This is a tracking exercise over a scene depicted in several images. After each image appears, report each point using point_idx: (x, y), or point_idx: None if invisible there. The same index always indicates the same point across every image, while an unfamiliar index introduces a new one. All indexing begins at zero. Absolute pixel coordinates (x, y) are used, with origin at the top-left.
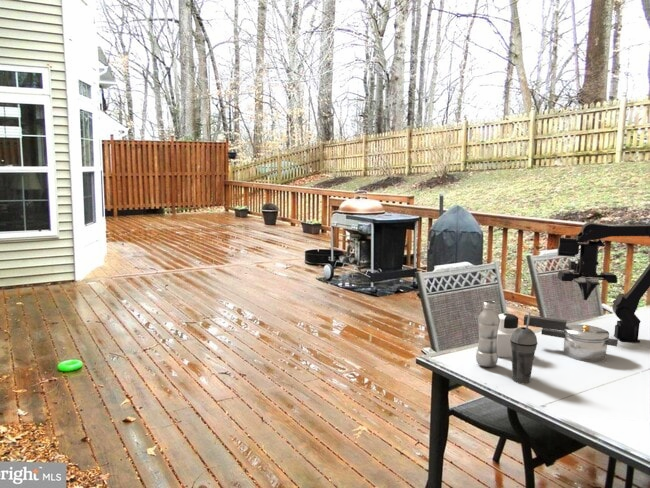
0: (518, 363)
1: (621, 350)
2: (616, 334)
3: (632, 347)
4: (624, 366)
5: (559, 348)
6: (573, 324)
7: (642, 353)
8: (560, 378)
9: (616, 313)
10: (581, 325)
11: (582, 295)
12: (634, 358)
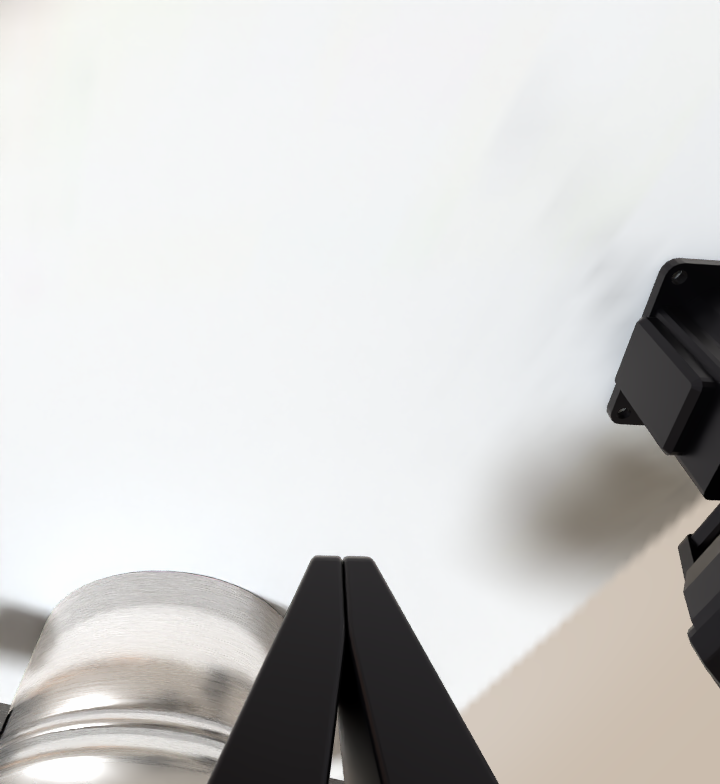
0: None
1: (469, 570)
2: (630, 381)
3: (597, 515)
4: (337, 735)
5: (25, 581)
6: (48, 769)
7: (576, 598)
8: None
9: (698, 609)
10: (121, 778)
11: (272, 659)
12: (462, 660)
